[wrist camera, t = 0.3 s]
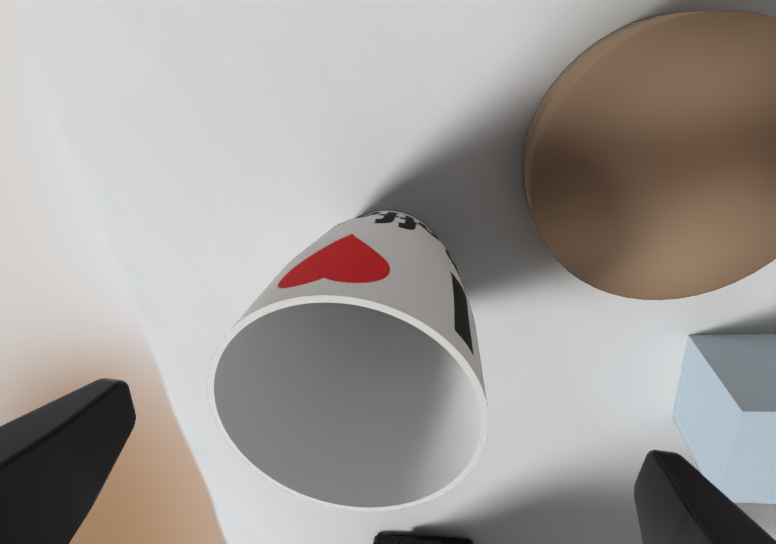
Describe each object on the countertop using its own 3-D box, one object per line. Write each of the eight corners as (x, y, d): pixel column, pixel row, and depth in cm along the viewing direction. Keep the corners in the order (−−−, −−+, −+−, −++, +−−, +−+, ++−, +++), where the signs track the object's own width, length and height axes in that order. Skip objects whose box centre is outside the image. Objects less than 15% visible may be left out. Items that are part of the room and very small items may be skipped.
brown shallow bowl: (767, 265, 20) (804, 295, 18) (521, 275, 22) (528, 303, 20) (840, -8, 16) (902, -12, 14) (524, 30, 18) (533, 32, 15)
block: (781, 416, 24) (853, 506, 20) (671, 415, 25) (716, 501, 20) (810, 332, 22) (898, 412, 17) (687, 334, 22) (742, 411, 18)
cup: (510, 223, 21) (546, 372, 12) (432, 357, 25) (417, 543, 16) (336, 146, 20) (242, 245, 12) (284, 296, 24) (184, 454, 16)
